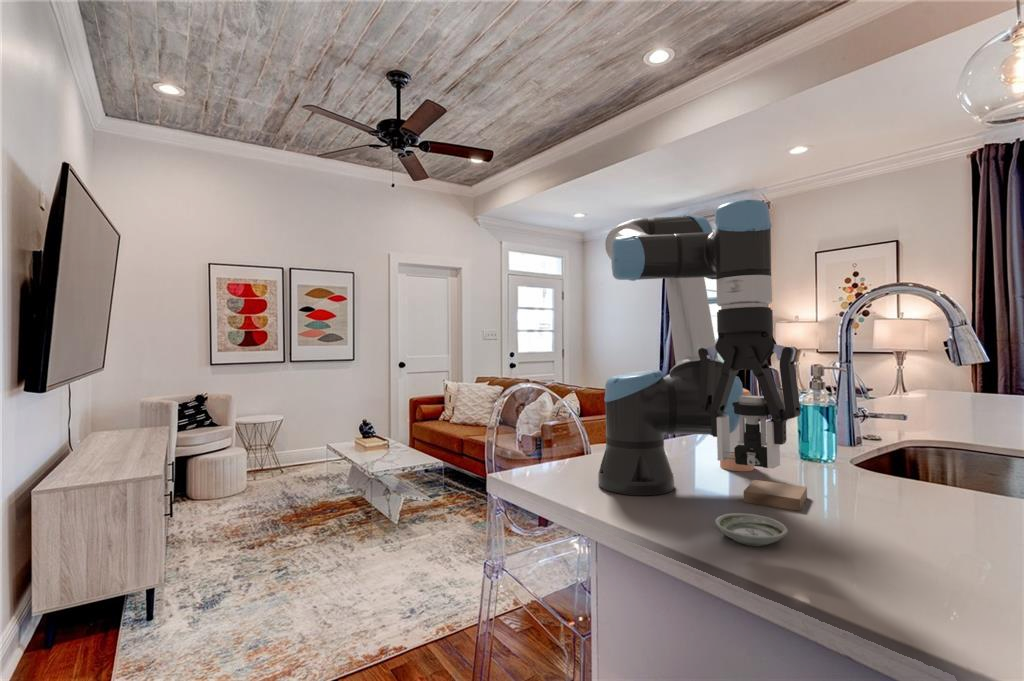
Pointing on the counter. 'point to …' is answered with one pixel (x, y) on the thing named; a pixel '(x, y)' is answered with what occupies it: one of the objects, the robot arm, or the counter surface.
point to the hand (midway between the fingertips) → (748, 462)
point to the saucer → (751, 528)
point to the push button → (751, 431)
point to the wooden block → (776, 495)
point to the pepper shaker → (734, 439)
